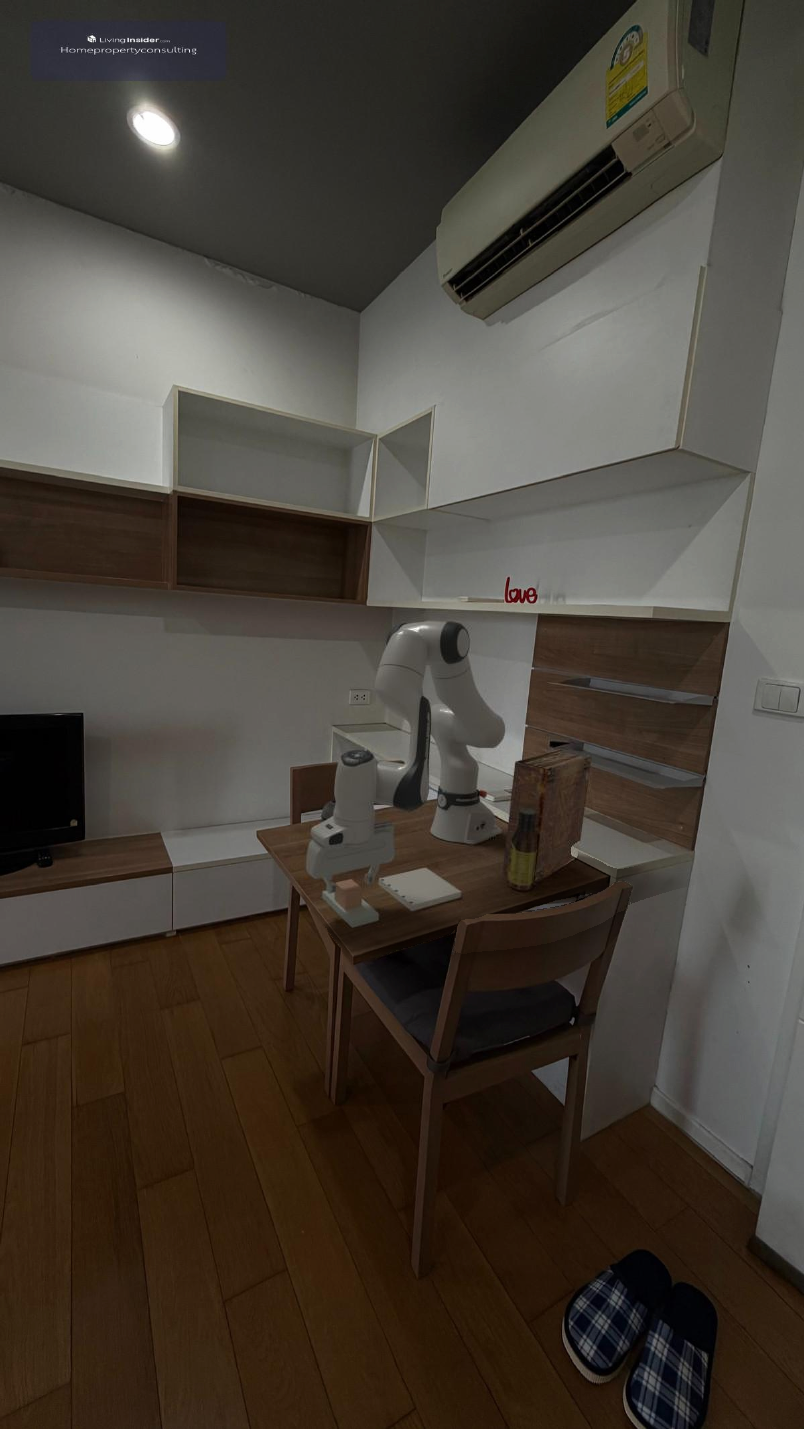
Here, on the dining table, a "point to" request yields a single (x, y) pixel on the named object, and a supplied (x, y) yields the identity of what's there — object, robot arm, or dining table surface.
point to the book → (550, 806)
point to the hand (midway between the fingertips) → (350, 887)
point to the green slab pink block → (350, 904)
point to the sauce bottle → (523, 852)
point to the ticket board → (419, 888)
